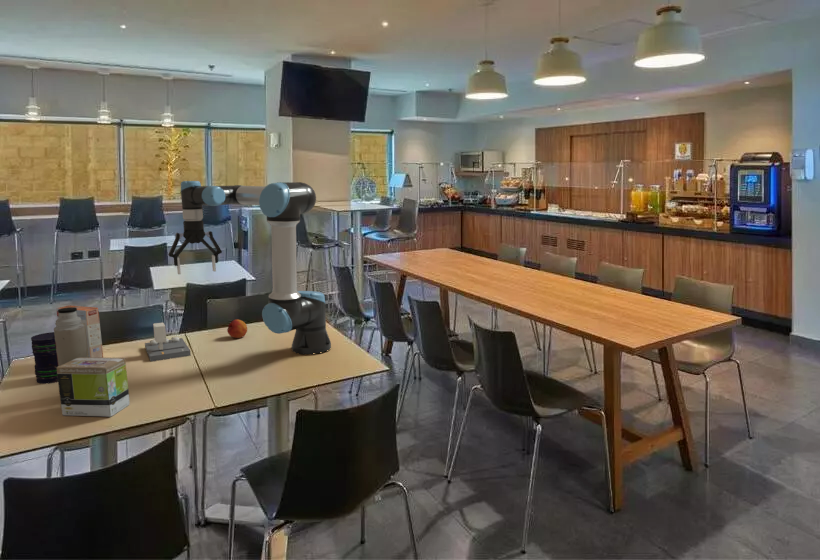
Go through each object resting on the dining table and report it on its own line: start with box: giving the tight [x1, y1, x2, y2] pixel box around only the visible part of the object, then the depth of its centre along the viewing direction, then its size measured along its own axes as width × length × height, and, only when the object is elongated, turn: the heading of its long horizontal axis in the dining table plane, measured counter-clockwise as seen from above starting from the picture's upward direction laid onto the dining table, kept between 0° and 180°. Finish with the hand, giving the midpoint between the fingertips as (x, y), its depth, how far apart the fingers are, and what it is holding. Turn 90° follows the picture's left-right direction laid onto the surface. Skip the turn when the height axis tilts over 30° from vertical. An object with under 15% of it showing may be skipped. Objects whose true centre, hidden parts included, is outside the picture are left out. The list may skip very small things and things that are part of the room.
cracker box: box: [56, 304, 104, 358], centre depth 208 cm, size 14×6×21 cm, turn 71°
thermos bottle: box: [53, 307, 88, 366], centre depth 175 cm, size 8×8×28 cm
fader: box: [152, 322, 167, 350], centre depth 217 cm, size 6×4×10 cm, turn 30°
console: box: [144, 336, 192, 362], centre depth 223 cm, size 20×14×4 cm
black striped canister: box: [30, 331, 58, 385], centre depth 192 cm, size 10×10×15 cm
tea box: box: [56, 357, 130, 418], centre depth 166 cm, size 15×10×15 cm
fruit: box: [226, 318, 248, 339], centre depth 241 cm, size 8×8×8 cm
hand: (197, 272), depth 233 cm, fingers open, 13 cm apart
